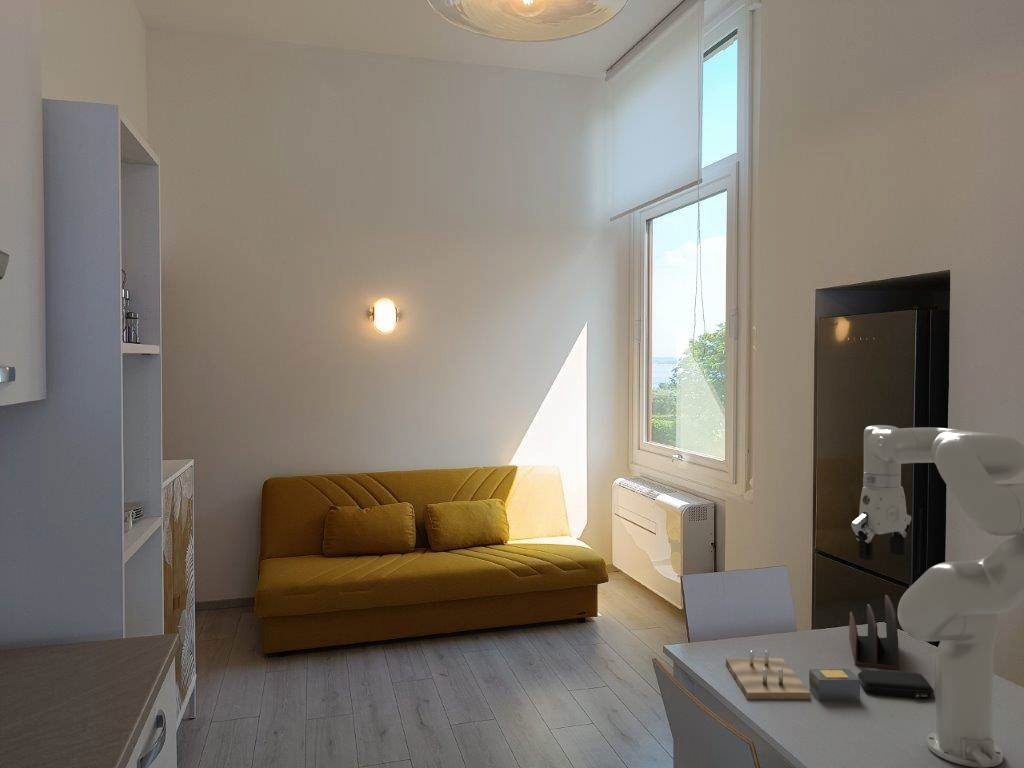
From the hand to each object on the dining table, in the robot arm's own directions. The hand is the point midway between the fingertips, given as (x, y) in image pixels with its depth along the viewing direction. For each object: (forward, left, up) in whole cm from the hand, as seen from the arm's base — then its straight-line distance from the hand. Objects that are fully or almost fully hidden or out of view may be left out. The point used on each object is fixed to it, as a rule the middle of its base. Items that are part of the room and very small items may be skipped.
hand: (881, 556), depth 169 cm
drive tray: (+8, +24, -32) cm, 40 cm away
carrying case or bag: (+3, -4, -32) cm, 33 cm away
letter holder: (+25, -9, -32) cm, 42 cm away
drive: (0, +11, -32) cm, 34 cm away
